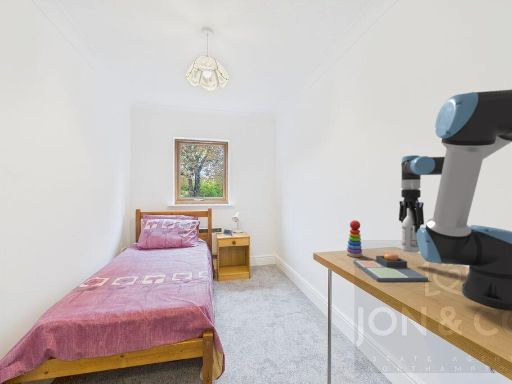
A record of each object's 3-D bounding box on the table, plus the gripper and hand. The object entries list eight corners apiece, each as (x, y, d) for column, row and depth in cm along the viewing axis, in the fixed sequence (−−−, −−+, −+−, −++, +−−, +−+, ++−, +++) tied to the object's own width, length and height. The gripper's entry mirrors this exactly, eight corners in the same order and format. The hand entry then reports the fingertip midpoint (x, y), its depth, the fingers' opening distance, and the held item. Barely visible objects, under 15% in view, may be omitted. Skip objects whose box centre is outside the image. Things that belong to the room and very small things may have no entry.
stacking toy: (343, 255, 127) (344, 220, 127) (349, 252, 133) (350, 218, 133) (359, 258, 122) (359, 221, 122) (364, 255, 128) (364, 220, 127)
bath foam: (421, 251, 112) (421, 208, 112) (416, 253, 107) (416, 209, 107) (405, 248, 117) (405, 207, 117) (399, 250, 113) (399, 208, 113)
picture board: (428, 280, 93) (428, 271, 93) (376, 281, 93) (377, 271, 92) (394, 262, 115) (394, 255, 115) (353, 263, 115) (353, 255, 114)
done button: (400, 262, 106) (401, 256, 106) (388, 262, 106) (388, 256, 106) (393, 258, 112) (393, 253, 112) (381, 258, 112) (381, 253, 112)
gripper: (434, 188, 102) (434, 242, 102) (405, 189, 122) (405, 234, 122) (417, 188, 102) (417, 242, 102) (390, 189, 122) (390, 234, 122)
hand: (410, 238), depth 112 cm, fingers closed on bath foam, 7 cm apart
